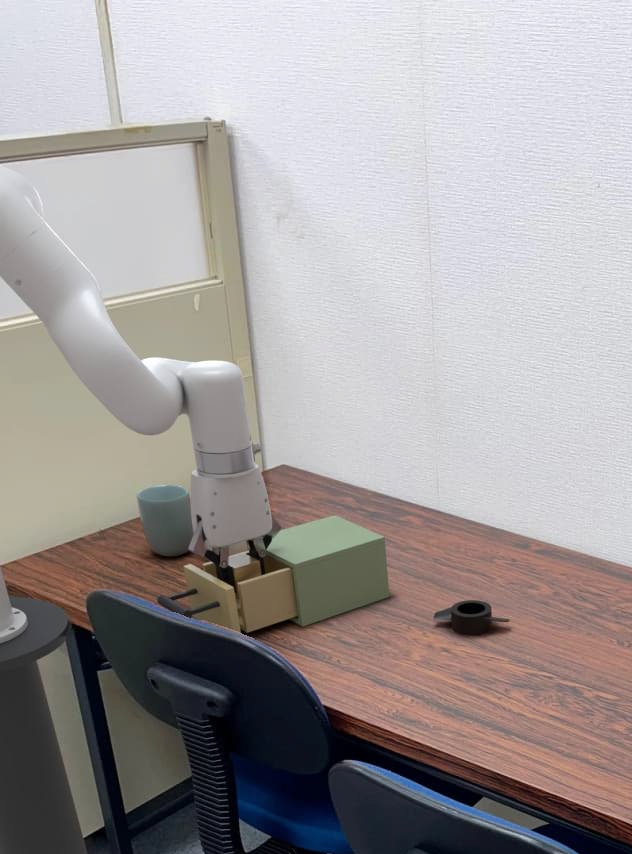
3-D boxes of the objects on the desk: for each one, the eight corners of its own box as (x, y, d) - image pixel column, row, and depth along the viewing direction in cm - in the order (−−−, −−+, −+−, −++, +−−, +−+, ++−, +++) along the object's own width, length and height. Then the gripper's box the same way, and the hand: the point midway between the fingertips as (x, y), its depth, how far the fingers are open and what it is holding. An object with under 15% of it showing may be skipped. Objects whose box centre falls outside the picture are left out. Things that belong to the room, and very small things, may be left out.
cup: (171, 564, 190) (159, 504, 184) (137, 554, 193) (125, 494, 188) (208, 550, 195) (198, 490, 190) (175, 540, 199) (164, 481, 193)
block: (238, 595, 167) (234, 568, 165) (223, 586, 169) (219, 560, 167) (263, 587, 169) (259, 561, 167) (247, 579, 172) (244, 553, 169)
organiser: (302, 626, 171) (294, 564, 166) (254, 600, 179) (245, 539, 174) (389, 596, 181) (384, 536, 176) (341, 573, 188) (334, 514, 183)
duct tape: (467, 608, 178) (466, 590, 176) (515, 628, 172) (514, 610, 171) (428, 624, 173) (427, 606, 171) (476, 645, 167) (476, 626, 166)
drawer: (197, 654, 161) (187, 601, 157) (155, 628, 168) (145, 576, 164) (322, 612, 174) (316, 561, 170) (278, 589, 180) (272, 540, 176)
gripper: (263, 440, 167) (279, 563, 176) (152, 465, 156) (175, 594, 166) (294, 453, 162) (307, 578, 172) (182, 479, 152) (203, 610, 162)
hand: (242, 585), depth 169 cm, fingers closed on block, 4 cm apart
